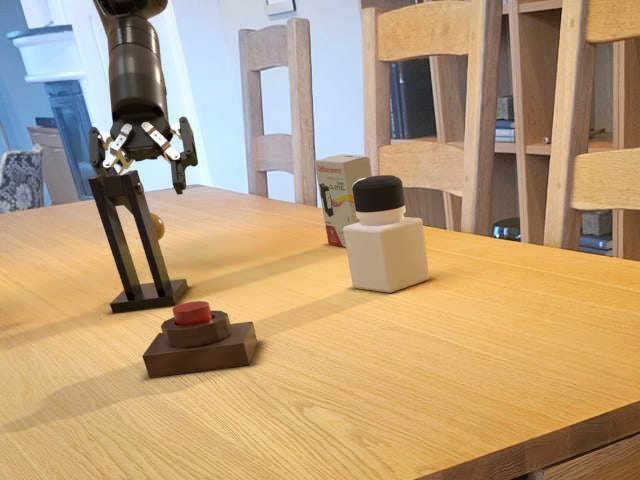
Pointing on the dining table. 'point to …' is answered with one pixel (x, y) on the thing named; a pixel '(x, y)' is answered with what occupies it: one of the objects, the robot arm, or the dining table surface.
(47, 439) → the dining table surface
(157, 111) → the robot arm
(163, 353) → the block
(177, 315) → the release button
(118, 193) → the ball knob lever
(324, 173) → the ink box
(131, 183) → the bracket
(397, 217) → the medicine bottle
